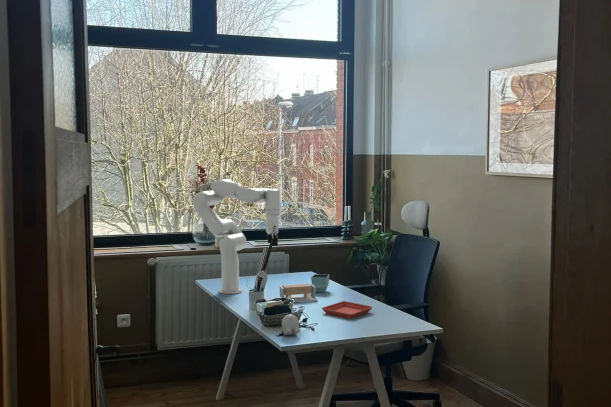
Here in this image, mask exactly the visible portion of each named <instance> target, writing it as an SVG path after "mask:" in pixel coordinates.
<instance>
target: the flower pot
mask: <svg viewBox="0 0 611 407" xmlns="http://www.w3.org/2000/svg"><path fill="white" fill-rule="evenodd" d="M310 279H311V284H312V285H314V286H315V293H325V292H326V291H327V289H328V287H329V283H330V274H323V273H322V274H320V273H319V274H318V273H317V274H316V273H315V274H312V276H311V277H310Z"/></svg>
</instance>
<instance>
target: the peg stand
mask: <svg viewBox="0 0 611 407" xmlns="http://www.w3.org/2000/svg"><path fill="white" fill-rule="evenodd" d="M309 285H310V286H311V293H310V294H296V295H284V288H283V287H282V285H280V286H279V296H280V297H281V298H284V297H285V298H289V299H294V301H295V302H301V303H312V302H313V303H315V302H318V298H316V292H315V286H314V285H312V283H311V284H309Z"/></svg>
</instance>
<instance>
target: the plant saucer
mask: <svg viewBox="0 0 611 407" xmlns="http://www.w3.org/2000/svg"><path fill="white" fill-rule="evenodd" d="M372 309H373V306H372V305H371V306H370V305H366V304H360V303H355V302H350V301H346V300H343V301H340V302H337V303H336V302H335V303H333V304H330V305H327V306H323V307H321V310H322V311H323V312H325V313H326V315H332V316H336V317H341V318H345V319H350V320H351V319H353V318H356V317H360V316H362V315H366V314H368V313H369V312H370V311H371V310H372ZM325 313H324V314H325Z"/></svg>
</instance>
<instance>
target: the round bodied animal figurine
mask: <svg viewBox="0 0 611 407" xmlns="http://www.w3.org/2000/svg"><path fill="white" fill-rule="evenodd" d="M299 323H300V322H299V318H298V317H297V316H296V315H294V314H286V315H285V316H283V318H282V319H281V329H282V331H283V335H284V336H290V335H297V334H298V333H300V332H301V331H300V327H299Z"/></svg>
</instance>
